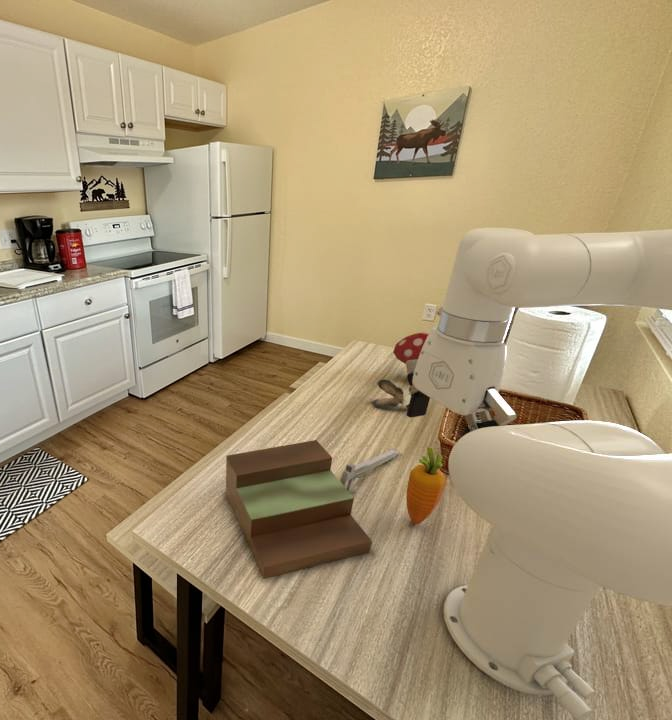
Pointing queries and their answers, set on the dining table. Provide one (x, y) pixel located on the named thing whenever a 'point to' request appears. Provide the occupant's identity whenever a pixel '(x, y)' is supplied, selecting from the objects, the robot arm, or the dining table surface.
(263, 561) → the brown stepped stand
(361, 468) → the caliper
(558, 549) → the robot arm
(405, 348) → the decorative mushroom
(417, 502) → the carrot
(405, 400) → the grey brown forked piece
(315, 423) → the dining table surface
